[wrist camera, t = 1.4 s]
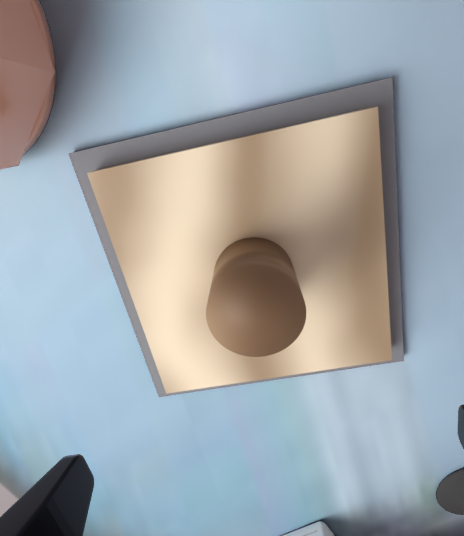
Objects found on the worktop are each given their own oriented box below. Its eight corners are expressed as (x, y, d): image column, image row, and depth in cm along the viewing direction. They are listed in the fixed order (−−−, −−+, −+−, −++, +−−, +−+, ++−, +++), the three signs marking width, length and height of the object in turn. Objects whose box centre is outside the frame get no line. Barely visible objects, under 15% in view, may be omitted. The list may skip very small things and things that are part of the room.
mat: (389, 78, 16) (392, 77, 15) (401, 356, 21) (403, 360, 21) (72, 152, 17) (68, 153, 17) (160, 392, 23) (158, 397, 22)
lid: (370, 107, 16) (422, 101, 11) (385, 349, 20) (426, 416, 16) (95, 170, 17) (39, 188, 12) (169, 382, 22) (149, 452, 17)
